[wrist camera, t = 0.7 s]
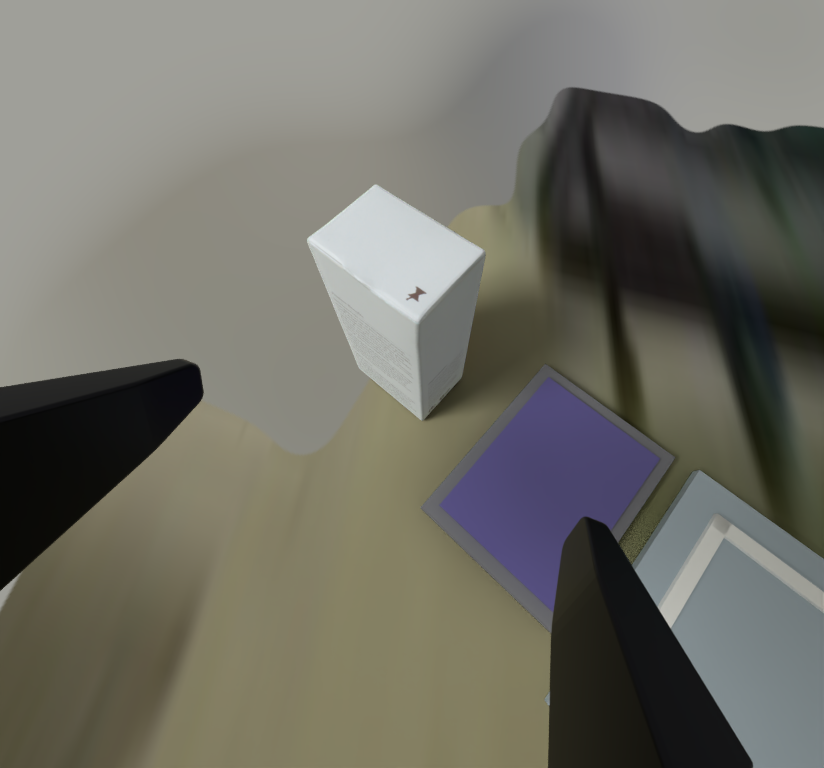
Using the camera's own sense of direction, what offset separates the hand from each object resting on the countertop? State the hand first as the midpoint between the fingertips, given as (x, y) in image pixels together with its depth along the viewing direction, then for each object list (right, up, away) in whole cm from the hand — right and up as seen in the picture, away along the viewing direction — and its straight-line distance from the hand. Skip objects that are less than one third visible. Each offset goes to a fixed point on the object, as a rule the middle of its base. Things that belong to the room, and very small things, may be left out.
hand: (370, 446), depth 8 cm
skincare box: (+1, +2, +17) cm, 17 cm away
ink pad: (+9, -5, +14) cm, 17 cm away
